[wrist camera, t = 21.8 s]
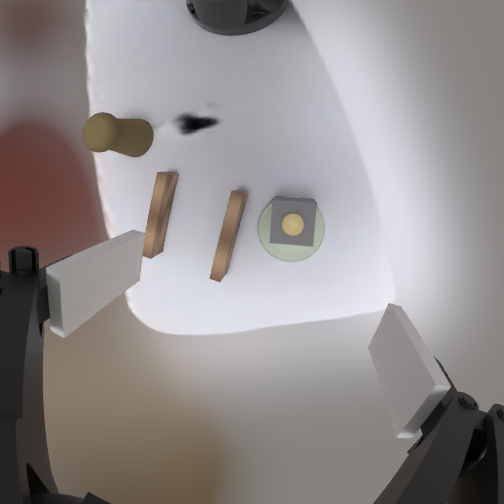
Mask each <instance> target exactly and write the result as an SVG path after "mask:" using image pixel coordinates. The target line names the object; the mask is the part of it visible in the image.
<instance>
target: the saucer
mask: <svg viewBox="0 0 504 504" xmlns="http://www.w3.org/2000/svg"><path fill="white" fill-rule="evenodd" d="M283 197H294V198H303V197H299V196H293V195H290V196H283ZM271 211H272V202H271V203H270V204H268V206H267V207H266V208H265V209H264V210H263V212H262V214H261V216H260V218H259V222H258V235H259V239H260V242H261V244H262V246H263V247H264V249H265V250H266V251H267V252H268V253H269V254H270V255H272V256H273V257H275V258H277V259H279V260H281V261H285V262H297V261H302V260H304V259H307V258H308V257H310V256H311V255H313V254H314V253H315V252H316V251H317V250H318V248H319V247H320V245H321V244H322V241H323V238H324V233H325V225H324V220H323V217H322V215H321V213H320V211H319V210H318V209H317V207H316V219H315V231H314V241H313V247H310V246H298V245H286V244H273V243H270V228H271Z"/></svg>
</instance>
